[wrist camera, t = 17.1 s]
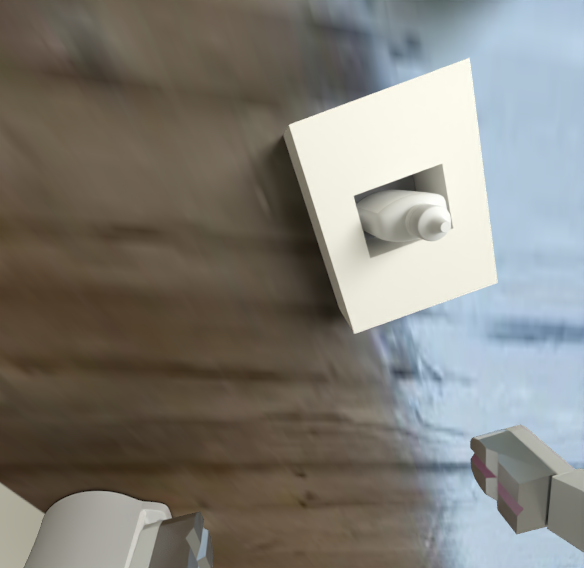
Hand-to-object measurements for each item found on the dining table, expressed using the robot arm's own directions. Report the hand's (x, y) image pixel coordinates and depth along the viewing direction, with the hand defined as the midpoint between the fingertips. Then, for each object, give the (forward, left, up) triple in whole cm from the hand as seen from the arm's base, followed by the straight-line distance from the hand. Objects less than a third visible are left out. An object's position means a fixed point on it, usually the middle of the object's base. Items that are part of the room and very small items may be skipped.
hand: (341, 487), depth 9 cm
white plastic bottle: (+2, -11, -25) cm, 27 cm away
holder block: (+2, -11, -25) cm, 27 cm away
